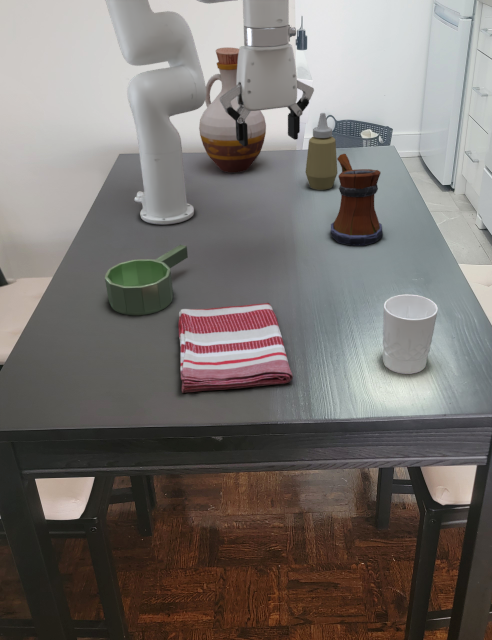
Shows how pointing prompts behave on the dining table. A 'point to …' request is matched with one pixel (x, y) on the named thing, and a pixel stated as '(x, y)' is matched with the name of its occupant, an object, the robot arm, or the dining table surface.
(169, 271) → the green saucepan
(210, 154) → the jug
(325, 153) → the squeeze bottle
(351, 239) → the mug
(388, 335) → the white cup
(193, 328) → the dish towel
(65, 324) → the dining table surface
